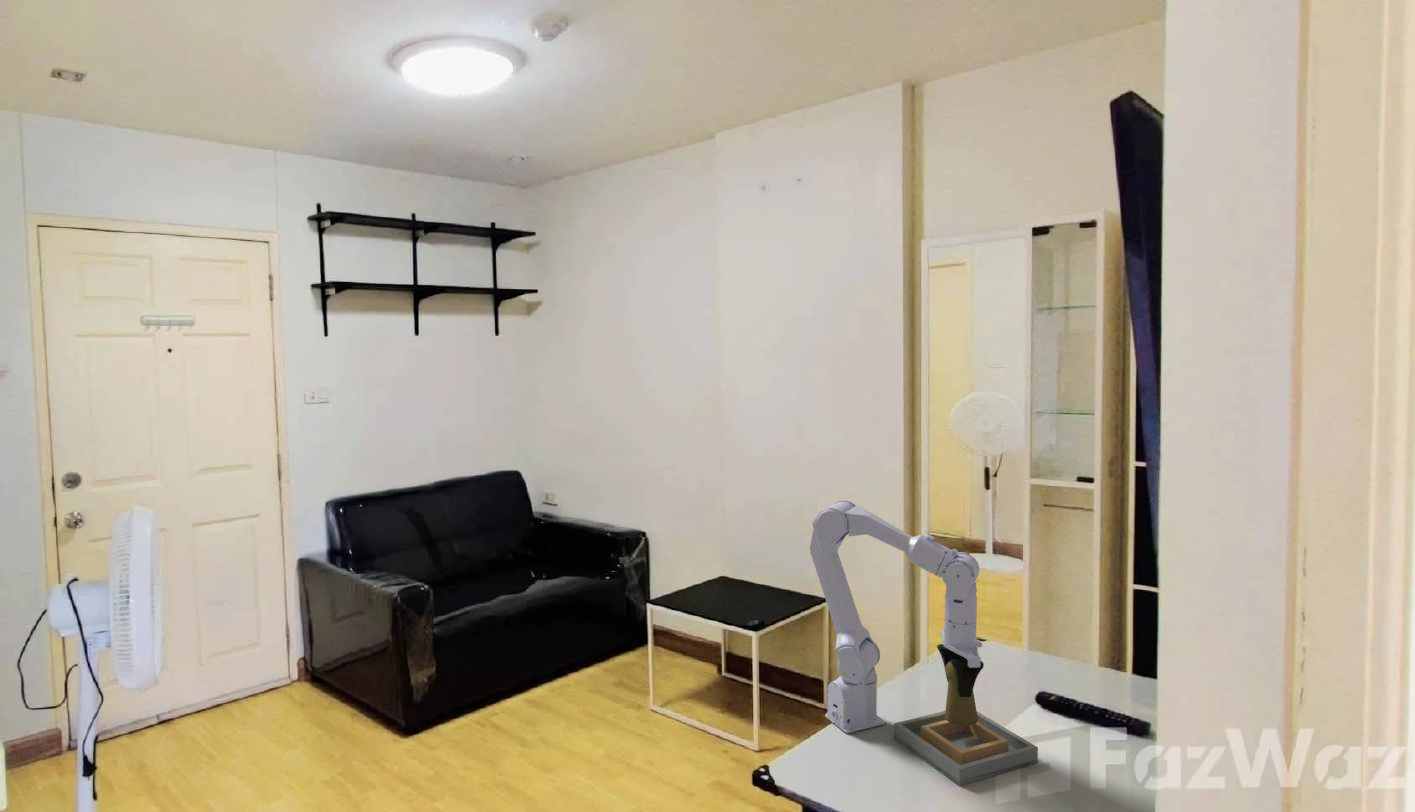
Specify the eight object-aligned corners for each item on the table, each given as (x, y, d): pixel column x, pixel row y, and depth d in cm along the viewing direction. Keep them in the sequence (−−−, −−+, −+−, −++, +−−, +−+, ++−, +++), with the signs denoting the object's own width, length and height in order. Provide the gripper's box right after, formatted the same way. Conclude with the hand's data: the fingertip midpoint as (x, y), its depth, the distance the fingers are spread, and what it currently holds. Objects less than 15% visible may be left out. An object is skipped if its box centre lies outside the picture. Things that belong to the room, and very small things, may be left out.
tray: (959, 786, 134) (959, 767, 133) (894, 738, 150) (894, 721, 150) (1037, 763, 141) (1037, 745, 141) (967, 720, 157) (967, 704, 157)
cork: (938, 713, 150) (936, 658, 149) (967, 708, 152) (965, 653, 151) (955, 728, 145) (953, 671, 143) (984, 722, 146) (982, 666, 145)
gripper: (997, 632, 139) (996, 706, 140) (966, 606, 154) (965, 673, 155) (959, 633, 139) (957, 707, 140) (931, 607, 153) (930, 674, 154)
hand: (959, 689), depth 147 cm, fingers closed on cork, 5 cm apart
